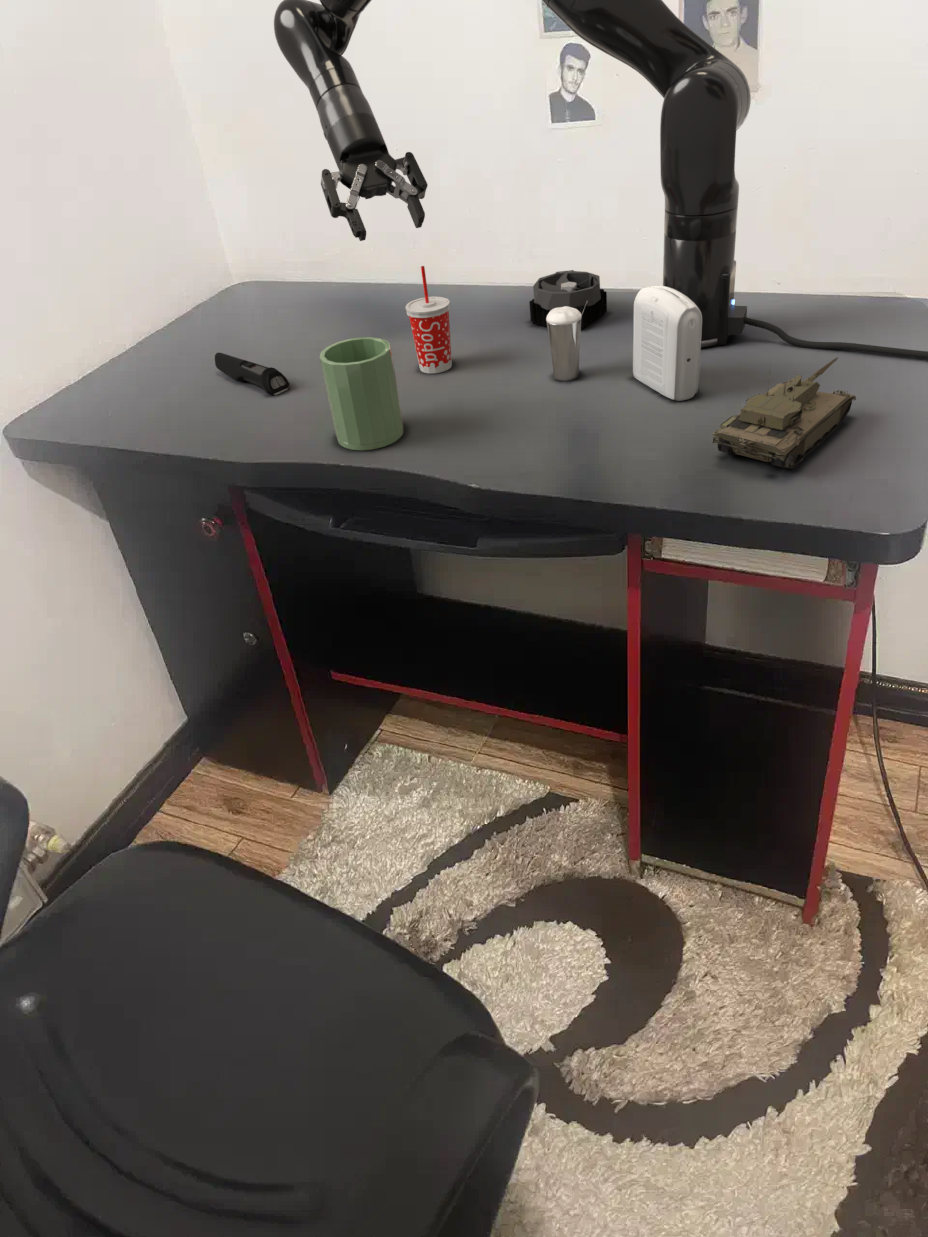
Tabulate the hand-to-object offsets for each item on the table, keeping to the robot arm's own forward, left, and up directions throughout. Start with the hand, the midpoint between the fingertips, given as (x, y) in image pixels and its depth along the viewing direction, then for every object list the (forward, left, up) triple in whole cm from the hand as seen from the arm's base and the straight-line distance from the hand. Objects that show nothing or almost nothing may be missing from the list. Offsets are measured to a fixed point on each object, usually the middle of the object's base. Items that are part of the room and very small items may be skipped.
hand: (392, 230), depth 128 cm
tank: (-56, +22, -17) cm, 63 cm away
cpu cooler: (-21, -13, -17) cm, 30 cm away
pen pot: (-7, +29, -17) cm, 34 cm away
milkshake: (-27, +9, -17) cm, 33 cm away
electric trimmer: (+19, +15, -17) cm, 29 cm away
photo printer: (-40, +10, -17) cm, 45 cm away
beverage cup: (-7, +7, -17) cm, 20 cm away
